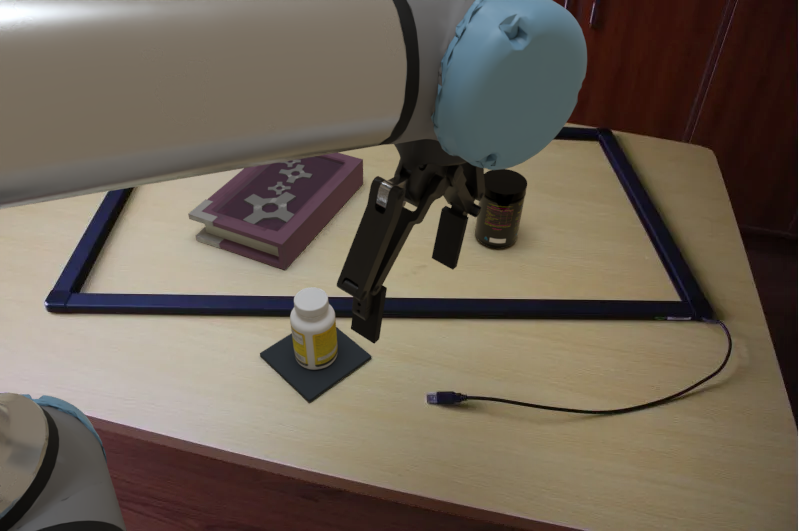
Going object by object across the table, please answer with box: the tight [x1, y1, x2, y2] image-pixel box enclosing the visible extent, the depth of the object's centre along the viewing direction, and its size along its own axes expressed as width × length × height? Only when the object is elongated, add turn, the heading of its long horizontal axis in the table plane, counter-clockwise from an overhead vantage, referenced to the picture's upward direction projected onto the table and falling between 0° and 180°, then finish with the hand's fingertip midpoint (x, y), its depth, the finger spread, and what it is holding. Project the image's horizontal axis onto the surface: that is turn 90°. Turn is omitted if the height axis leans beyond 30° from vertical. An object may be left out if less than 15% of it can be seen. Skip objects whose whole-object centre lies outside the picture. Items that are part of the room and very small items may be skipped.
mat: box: [259, 326, 372, 404], centre depth 81 cm, size 10×10×1 cm
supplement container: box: [474, 168, 528, 250], centre depth 97 cm, size 7×7×10 cm
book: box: [187, 152, 364, 271], centre depth 103 cm, size 25×16×5 cm, turn 156°
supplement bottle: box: [289, 286, 338, 370], centre depth 78 cm, size 5×5×10 cm
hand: (407, 295), depth 63 cm, fingers open, 13 cm apart
